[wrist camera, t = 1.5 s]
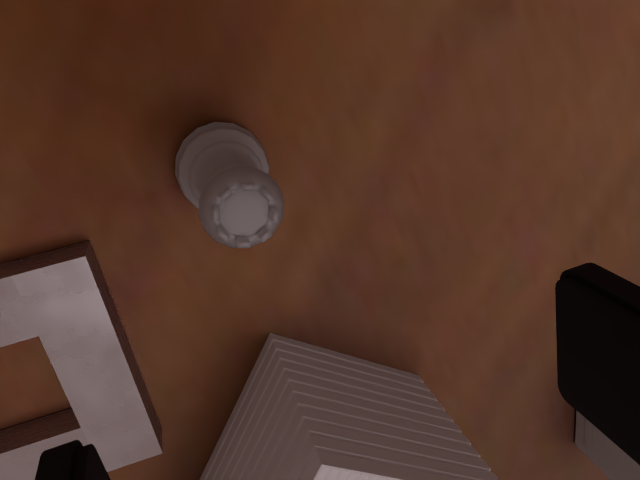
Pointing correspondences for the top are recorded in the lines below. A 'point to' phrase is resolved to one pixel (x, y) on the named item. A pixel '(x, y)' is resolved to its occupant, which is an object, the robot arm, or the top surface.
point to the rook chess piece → (229, 184)
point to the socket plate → (75, 363)
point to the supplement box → (604, 452)
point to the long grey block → (338, 423)
